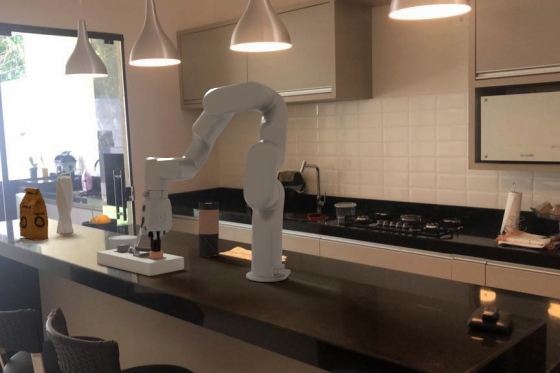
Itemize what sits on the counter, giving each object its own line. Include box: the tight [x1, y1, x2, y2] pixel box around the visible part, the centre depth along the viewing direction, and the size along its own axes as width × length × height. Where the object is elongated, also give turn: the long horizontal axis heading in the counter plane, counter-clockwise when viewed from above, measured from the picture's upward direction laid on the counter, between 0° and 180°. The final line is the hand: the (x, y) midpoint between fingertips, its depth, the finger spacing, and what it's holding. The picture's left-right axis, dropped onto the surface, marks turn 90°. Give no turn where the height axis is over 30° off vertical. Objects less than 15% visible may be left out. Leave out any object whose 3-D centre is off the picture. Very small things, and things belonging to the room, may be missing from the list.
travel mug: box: [197, 201, 220, 257], centre depth 214 cm, size 8×8×20 cm
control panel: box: [96, 247, 185, 277], centre depth 194 cm, size 29×14×6 cm, turn 50°
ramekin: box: [107, 234, 138, 250], centre depth 223 cm, size 11×11×5 cm
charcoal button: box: [117, 244, 130, 253], centre depth 199 cm, size 4×4×3 cm
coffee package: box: [18, 187, 49, 241], centre depth 249 cm, size 10×12×22 cm
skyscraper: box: [55, 171, 74, 235], centre depth 266 cm, size 8×8×28 cm
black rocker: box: [135, 246, 151, 252], centre depth 192 cm, size 3×5×1 cm, turn 140°
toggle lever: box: [130, 227, 143, 253], centre depth 197 cm, size 2×2×12 cm
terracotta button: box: [150, 250, 164, 260], centre depth 188 cm, size 4×4×3 cm
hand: (155, 251), depth 188 cm, fingers closed
